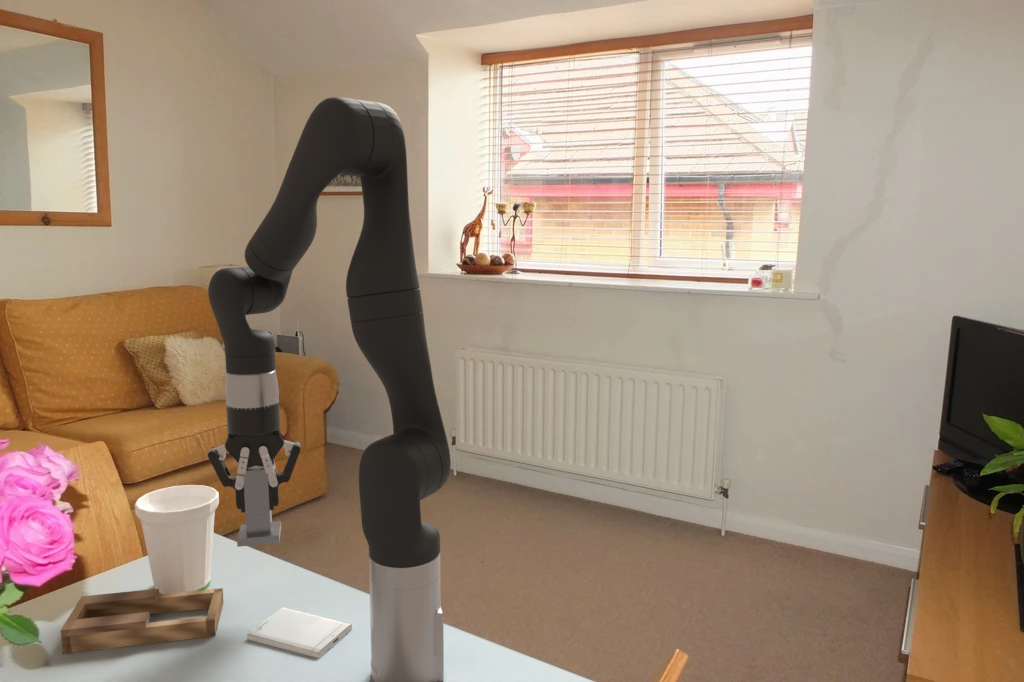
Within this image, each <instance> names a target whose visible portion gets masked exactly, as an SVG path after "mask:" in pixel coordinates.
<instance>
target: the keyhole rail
mask: <svg viewBox="0 0 1024 682" xmlns="http://www.w3.org/2000/svg"><path fill="white" fill-rule="evenodd" d="M224 604H225V603H224V588H222V587H220V588H210V589H205V590H199V591H190V592H180V593H170V594H159V589H155V588H151V589H141V590H131V591H123V592H122V591H121V592H113V593H111V592H110V593H102V594H92V595H82V596H81V597H80V598H79V600H78V602H77V603H76V605H75V606H74V608H73V609H72V611H71V613H70V614H69V616H68V618H67V619H66V621H65V622H64V623H63V625H62V627H61V628H60V640H61V652H62V654H70V653H80V652H88V651H96V650H103V649H105V650H106V649H113V648H114V649H115V648H122V647H129V646H130V647H131V646H132V647H133V646H138V645H147V644H155V643H164V642H173V641H175V642H176V641H182V640H191V639H198V638H200V639H201V638H207V637H208V638H209V637H215V636H216V635H217V631H218V627H219V624H220V623H219V622H220V619H221V614H222V611H223V606H224ZM203 609H204V610H205V609H208V610H207V611H208V612H207V615H206V616H201V617H191V618H181V619H175V620H174V619H173V620H165V621H156V622H149V621H150V617H151V616H150V615H157V614H166V613H167V614H168V613H175V612H176V611H177V612H186V611H194V610H203Z"/></svg>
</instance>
